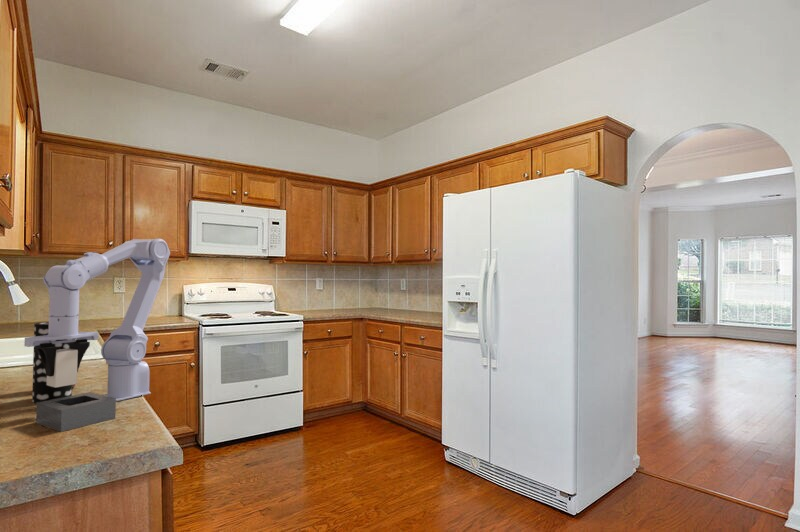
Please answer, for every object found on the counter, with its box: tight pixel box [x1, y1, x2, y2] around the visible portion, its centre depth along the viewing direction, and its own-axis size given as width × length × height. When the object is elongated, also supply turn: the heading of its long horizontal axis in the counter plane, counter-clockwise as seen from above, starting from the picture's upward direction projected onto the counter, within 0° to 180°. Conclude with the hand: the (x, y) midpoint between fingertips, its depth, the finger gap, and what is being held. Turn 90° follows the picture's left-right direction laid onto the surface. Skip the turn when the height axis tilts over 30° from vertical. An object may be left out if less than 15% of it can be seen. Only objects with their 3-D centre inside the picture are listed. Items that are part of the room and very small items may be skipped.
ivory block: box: [47, 348, 78, 388], centre depth 109 cm, size 4×4×8 cm
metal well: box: [35, 391, 117, 433], centre depth 104 cm, size 11×11×4 cm
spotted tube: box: [31, 321, 73, 404], centre depth 122 cm, size 8×8×20 cm
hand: (62, 373), depth 109 cm, fingers closed on ivory block, 4 cm apart
